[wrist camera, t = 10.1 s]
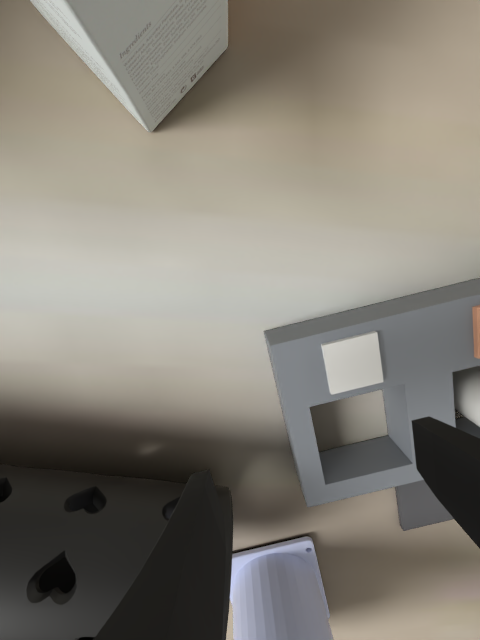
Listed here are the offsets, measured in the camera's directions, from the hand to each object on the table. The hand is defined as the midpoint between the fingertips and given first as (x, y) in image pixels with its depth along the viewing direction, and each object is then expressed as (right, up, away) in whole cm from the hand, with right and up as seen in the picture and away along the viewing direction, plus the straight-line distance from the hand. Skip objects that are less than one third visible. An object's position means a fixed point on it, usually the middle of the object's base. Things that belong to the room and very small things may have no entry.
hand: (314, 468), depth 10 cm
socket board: (+9, +1, +11) cm, 14 cm away
